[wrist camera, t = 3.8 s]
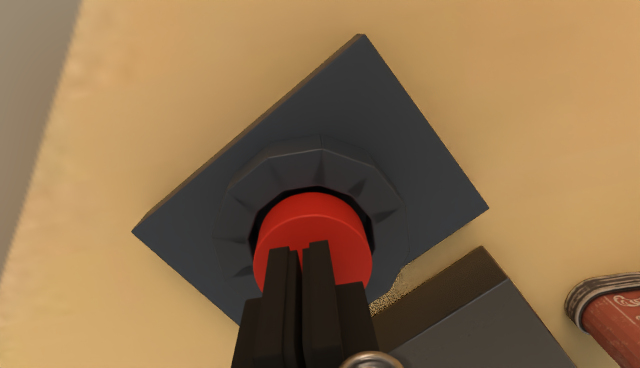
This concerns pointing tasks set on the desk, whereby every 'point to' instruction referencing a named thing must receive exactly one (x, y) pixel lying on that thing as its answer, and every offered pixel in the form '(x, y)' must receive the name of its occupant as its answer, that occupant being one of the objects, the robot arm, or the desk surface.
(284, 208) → the power button
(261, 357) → the robot arm
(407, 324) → the grey dial base plate
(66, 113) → the desk surface
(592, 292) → the lighter
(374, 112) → the control block
